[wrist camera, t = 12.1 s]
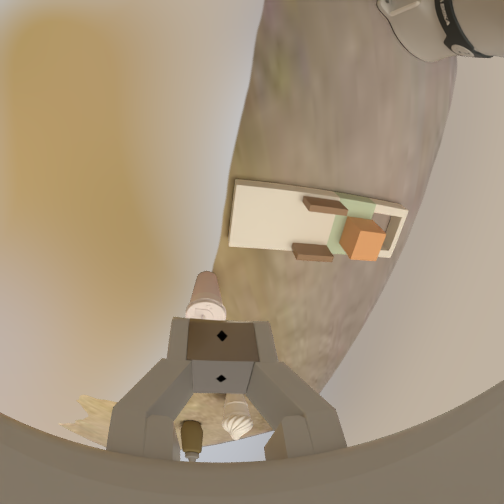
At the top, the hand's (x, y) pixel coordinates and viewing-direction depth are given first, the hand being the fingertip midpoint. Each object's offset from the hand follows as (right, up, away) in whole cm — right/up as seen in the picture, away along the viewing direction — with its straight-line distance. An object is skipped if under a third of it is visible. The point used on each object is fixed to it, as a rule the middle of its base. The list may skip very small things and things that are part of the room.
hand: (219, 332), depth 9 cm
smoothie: (-7, -2, +41) cm, 42 cm away
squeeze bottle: (-21, -59, +75) cm, 97 cm away
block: (+18, +6, +35) cm, 40 cm away
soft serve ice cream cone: (-4, -37, +63) cm, 73 cm away
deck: (+13, +8, +37) cm, 40 cm away
